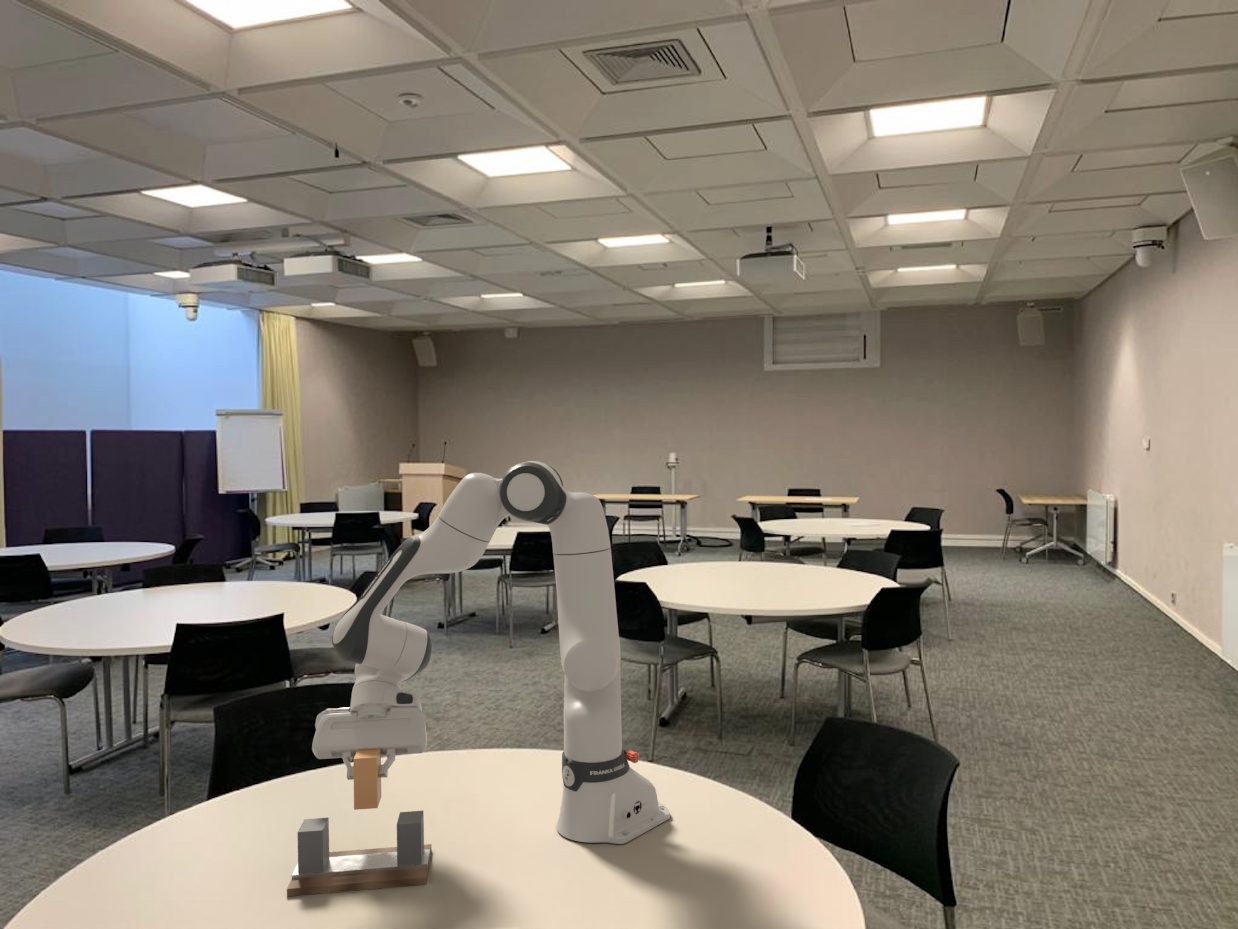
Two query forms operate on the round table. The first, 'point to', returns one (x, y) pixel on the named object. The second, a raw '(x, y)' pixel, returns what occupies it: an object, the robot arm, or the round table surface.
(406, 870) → the board
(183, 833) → the round table surface
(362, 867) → the light grey flat plate
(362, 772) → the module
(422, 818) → the mounted modules
